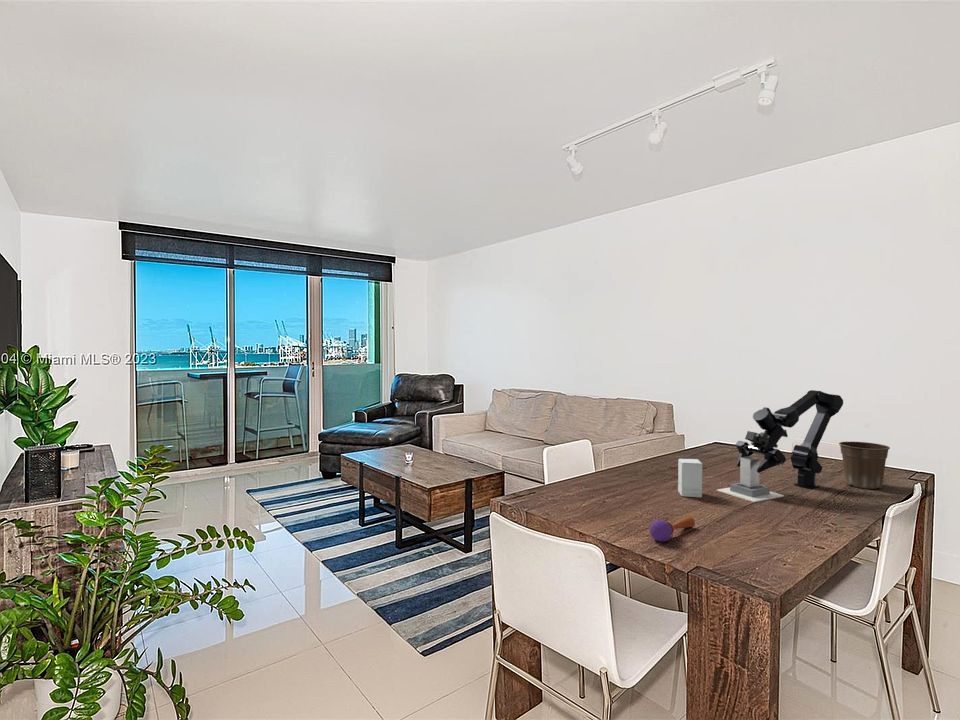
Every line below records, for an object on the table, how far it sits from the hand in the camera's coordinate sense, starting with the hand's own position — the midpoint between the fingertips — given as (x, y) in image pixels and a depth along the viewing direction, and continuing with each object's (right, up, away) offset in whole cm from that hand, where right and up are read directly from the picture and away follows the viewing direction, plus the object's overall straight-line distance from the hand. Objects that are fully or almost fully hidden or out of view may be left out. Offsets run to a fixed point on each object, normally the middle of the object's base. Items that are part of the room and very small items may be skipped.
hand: (747, 469), depth 196 cm
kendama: (-43, -11, -40) cm, 60 cm away
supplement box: (-22, -10, 0) cm, 24 cm away
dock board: (+1, -10, +1) cm, 10 cm away
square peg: (+1, -9, +1) cm, 9 cm away
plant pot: (+52, -9, +11) cm, 54 cm away
